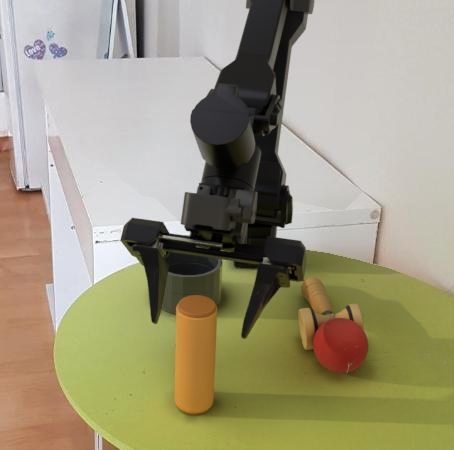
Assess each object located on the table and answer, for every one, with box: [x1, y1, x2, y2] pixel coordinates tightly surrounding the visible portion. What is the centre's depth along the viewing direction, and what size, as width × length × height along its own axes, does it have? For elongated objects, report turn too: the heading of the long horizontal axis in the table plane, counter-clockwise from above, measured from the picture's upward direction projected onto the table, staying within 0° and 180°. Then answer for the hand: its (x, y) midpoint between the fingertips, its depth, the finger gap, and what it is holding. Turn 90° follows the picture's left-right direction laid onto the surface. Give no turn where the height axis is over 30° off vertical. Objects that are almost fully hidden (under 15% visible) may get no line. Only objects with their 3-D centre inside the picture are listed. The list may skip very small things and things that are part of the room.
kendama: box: [297, 277, 369, 374], centre depth 89 cm, size 8×6×18 cm
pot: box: [162, 246, 223, 315], centre depth 96 cm, size 9×9×6 cm
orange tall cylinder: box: [174, 295, 218, 416], centre depth 75 cm, size 4×4×12 cm
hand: (198, 330), depth 75 cm, fingers open, 9 cm apart
